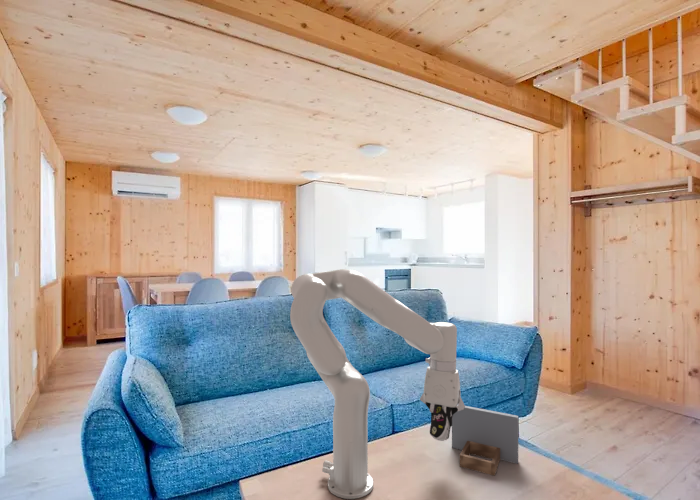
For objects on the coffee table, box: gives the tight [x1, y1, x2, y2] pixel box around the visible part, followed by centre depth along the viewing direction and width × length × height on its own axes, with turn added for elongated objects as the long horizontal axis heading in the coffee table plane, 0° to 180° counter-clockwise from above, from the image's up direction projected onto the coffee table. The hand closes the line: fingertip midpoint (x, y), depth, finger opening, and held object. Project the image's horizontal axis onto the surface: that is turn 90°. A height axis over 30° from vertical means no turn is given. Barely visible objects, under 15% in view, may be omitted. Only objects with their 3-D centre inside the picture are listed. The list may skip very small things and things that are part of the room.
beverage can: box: [429, 404, 453, 442], centre depth 118 cm, size 6×6×12 cm
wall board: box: [451, 405, 519, 465], centre depth 126 cm, size 20×2×14 cm, turn 61°
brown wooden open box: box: [459, 441, 501, 477], centre depth 121 cm, size 10×10×4 cm
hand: (441, 425), depth 118 cm, fingers closed on beverage can, 3 cm apart
